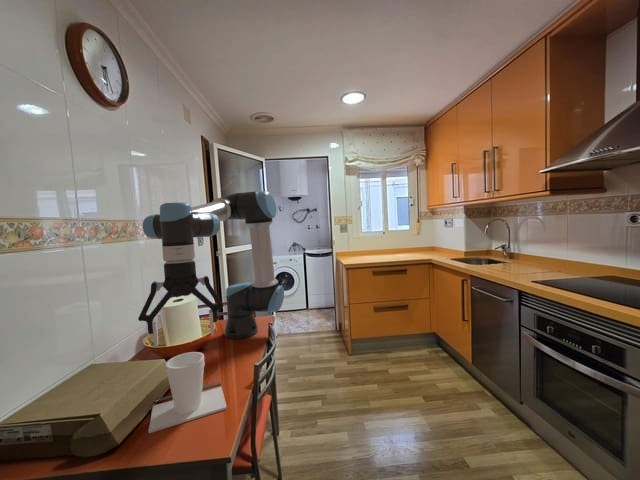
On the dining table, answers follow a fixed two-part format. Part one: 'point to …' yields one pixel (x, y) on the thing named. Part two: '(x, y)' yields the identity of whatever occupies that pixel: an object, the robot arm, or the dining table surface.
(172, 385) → the foam cup
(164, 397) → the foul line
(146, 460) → the dining table surface
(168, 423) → the mat
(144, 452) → the dining table surface
